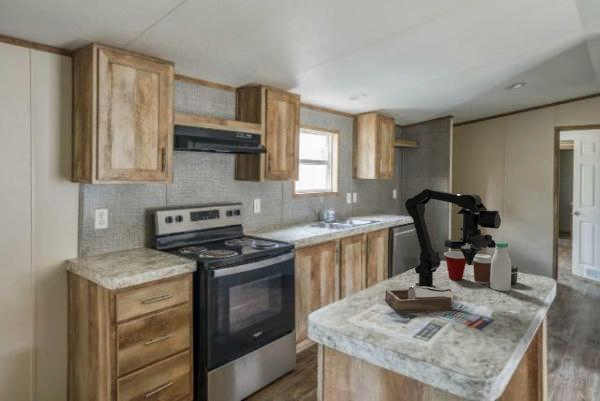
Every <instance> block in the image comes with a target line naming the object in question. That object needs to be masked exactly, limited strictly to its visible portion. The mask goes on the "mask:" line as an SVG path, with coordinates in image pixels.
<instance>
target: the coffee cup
mask: <svg viewBox="0 0 600 401" xmlns="http://www.w3.org/2000/svg"><path fill="white" fill-rule="evenodd" d="M491 261H492V256H491V255H489V254H481V253H476V255H475V257H474V259H473V262H472V264H473V265H472V267H473V281H474V283H477V284H485V285H487V284H490V276H491Z"/></svg>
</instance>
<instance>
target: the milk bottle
mask: <svg viewBox="0 0 600 401" xmlns="http://www.w3.org/2000/svg"><path fill="white" fill-rule="evenodd" d="M495 243H496V247H495V251H494V254H493V256H491V258H492V261H491V276H490V283H489V284H490V286H489V287H490V288H491V289H492V290H494V291H498V292H499V291H500V292H509V291H511V287H512V285H511V265H512V259H511V256H510V255H509V253H508V249H509V243H508V242H504V241H496V242H495Z"/></svg>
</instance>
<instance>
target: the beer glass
mask: <svg viewBox="0 0 600 401" xmlns="http://www.w3.org/2000/svg"><path fill="white" fill-rule="evenodd" d="M407 289H408V299H421V298H441V297H451V298H452V299H451V304H452V303H453V301H454V293H453V291H452V289H451V288H450V287H444V288H437V287H436V288H433V287H428V286H417V285H410V286H409V287H408V288H407Z"/></svg>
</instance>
